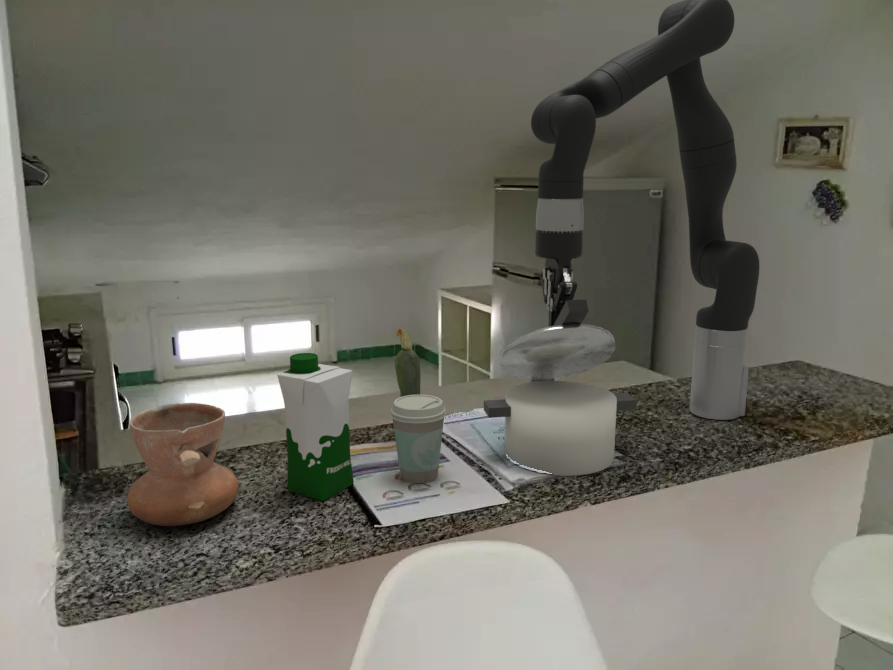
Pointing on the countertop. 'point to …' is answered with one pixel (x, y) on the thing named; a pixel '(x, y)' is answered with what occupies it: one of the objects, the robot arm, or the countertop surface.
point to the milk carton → (317, 426)
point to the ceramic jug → (180, 465)
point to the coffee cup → (418, 436)
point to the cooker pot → (560, 425)
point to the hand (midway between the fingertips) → (555, 332)
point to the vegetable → (407, 367)
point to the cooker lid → (558, 347)
